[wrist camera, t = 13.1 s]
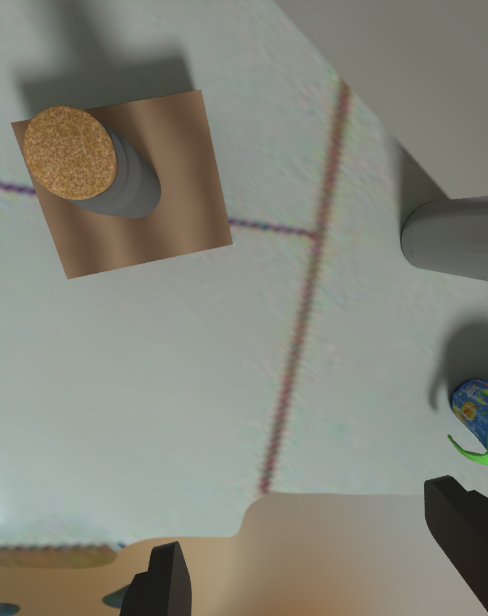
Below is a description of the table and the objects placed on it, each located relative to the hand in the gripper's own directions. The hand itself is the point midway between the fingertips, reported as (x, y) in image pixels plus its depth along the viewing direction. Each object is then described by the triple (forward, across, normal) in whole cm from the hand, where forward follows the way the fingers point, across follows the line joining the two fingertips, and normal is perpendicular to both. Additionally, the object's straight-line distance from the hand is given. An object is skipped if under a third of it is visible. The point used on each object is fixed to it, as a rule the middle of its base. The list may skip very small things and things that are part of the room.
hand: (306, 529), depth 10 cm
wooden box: (+33, +8, -15) cm, 37 cm away
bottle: (+27, +8, -15) cm, 32 cm away
